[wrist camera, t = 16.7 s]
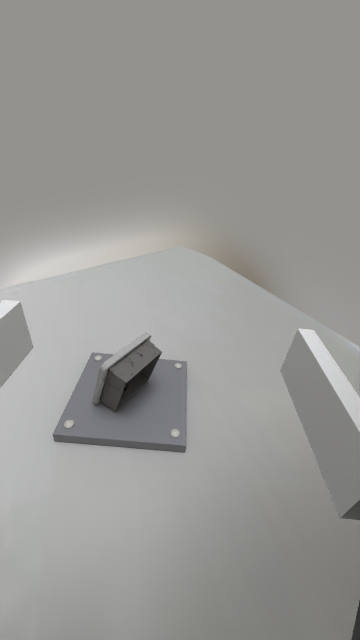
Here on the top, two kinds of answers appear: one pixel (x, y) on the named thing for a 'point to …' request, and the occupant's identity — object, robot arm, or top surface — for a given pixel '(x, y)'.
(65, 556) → the top surface
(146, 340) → the electrical switch
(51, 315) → the top surface
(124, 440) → the mounting plate
